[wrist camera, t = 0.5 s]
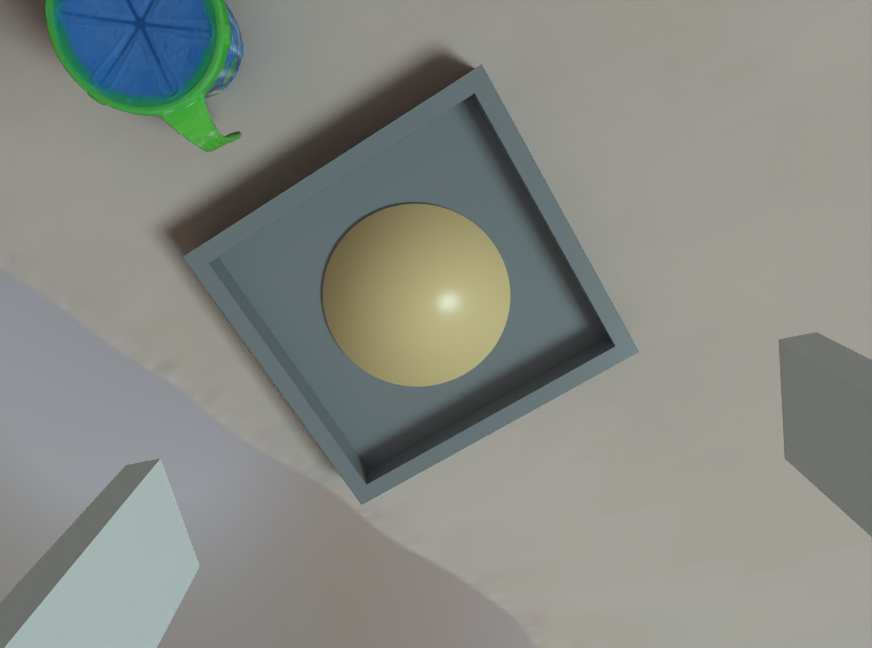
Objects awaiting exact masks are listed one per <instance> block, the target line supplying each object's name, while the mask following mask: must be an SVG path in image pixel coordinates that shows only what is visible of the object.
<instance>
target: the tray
mask: <svg viewBox="0 0 872 648" xmlns="http://www.w3.org/2000/svg"><path fill="white" fill-rule="evenodd" d="M183 258H184V260H185V261H186V263H187V264H188V265H189V267H190V268H191V270H192V271H193V272H194V274H195V275H196V276H197V278H198V279H199V281H200V282H201V283H202V285H203V286H204V288H205V289H206V290H207V292H208V293H209V294H210V296H211V297H212V299H213V300H214V301H215V303H216V304H217V305H218V307H219V308H220V310H221V311H222V312H223V314H224V315H225V317H226V318H227V319H228V321H229V322H230V323H231V325H232V326H233V328H234V329H235V330H236V332H237V333H238V335H239V336H240V337H241V339H242V340H243V341H244V343H245V344H246V346H247V347H248V348H249V350H250V351H251V352H252V354H253V355H254V357H255V358H256V359H257V361H258V362H259V364H260V365H261V366H262V368H263V369H264V370H265V372H266V373H267V375H268V376H269V377H270V379H271V380H272V382H273V383H274V384H275V386H276V387H277V388H278V390H279V391H280V393H281V394H282V395H283V397H284V398H285V400H286V401H287V402H288V404H289V405H290V406H291V408H292V409H293V411H294V412H295V413H296V415H297V416H298V417H299V419H300V420H301V422H302V423H303V424H304V426H305V427H306V429H307V430H308V431H309V433H310V434H311V435H312V437H313V438H314V440H315V441H316V442H317V444H318V445H319V447H320V448H321V449H322V451H323V452H324V453H325V455H326V456H327V458H328V459H329V460H330V462H331V463H332V464H333V466H334V467H335V469H336V470H337V471H338V473H339V474H340V476H341V477H342V478H343V480H344V481H345V482H346V484H347V485H348V487H349V488H350V489H351V491H352V492H353V494H354V495H355V496H356V498H357V499H358V500H359V502H360V503H361V505H362V504H364V503H366V502H368V501H369V500H371V499H373V498H375V497H377V496H378V495H380V494H382V493H384V492H386V491H388V490H389V489H391V488H393V487H395V486H397V485H398V484H400V483H402V482H404V481H406V480H407V479H409V478H411V477H413V476H415V475H417V474H418V473H420V472H422V471H424V470H426V469H427V468H429V467H431V466H433V465H435V464H436V463H438V462H440V461H442V460H444V459H446V458H447V457H449V456H451V455H453V454H455V453H456V452H458V451H460V450H462V449H464V448H465V447H467V446H469V445H471V444H473V443H475V442H476V441H478V440H480V439H482V438H484V437H485V436H487V435H489V434H491V433H493V432H494V431H496V430H498V429H500V428H502V427H504V426H505V425H507V424H509V423H511V422H513V421H514V420H516V419H518V418H520V417H522V416H523V415H525V414H527V413H529V412H531V411H533V410H534V409H536V408H538V407H540V406H542V405H543V404H545V403H547V402H549V401H551V400H552V399H554V398H556V397H558V396H560V395H562V394H563V393H565V392H567V391H569V390H571V389H572V388H574V387H576V386H578V385H580V384H581V383H583V382H585V381H587V380H589V379H591V378H592V377H594V376H596V375H598V374H600V373H601V372H603V371H605V370H607V369H609V368H610V367H612V366H614V365H616V364H618V363H620V362H621V361H623V360H625V359H627V358H629V357H630V356H632V355H634V354H636V353H638V352H639V351H638V349H637V347H636V345H635V344H634V342H633V340H632V338H631V336H630V334H629V333H628V331H627V329H626V327H625V325H624V323H623V322H622V320H621V318H620V316H619V314H618V313H617V311H616V309H615V307H614V305H613V303H612V302H611V300H610V298H609V296H608V294H607V292H606V291H605V289H604V287H603V285H602V283H601V281H600V280H599V278H598V276H597V274H596V272H595V271H594V269H593V267H592V265H591V263H590V261H589V260H588V258H587V256H586V254H585V252H584V250H583V249H582V247H581V245H580V243H579V241H578V239H577V238H576V236H575V234H574V232H573V230H572V229H571V227H570V225H569V223H568V221H567V219H566V218H565V216H564V214H563V212H562V210H561V208H560V207H559V205H558V203H557V201H556V199H555V197H554V196H553V194H552V192H551V190H550V188H549V186H548V185H547V183H546V181H545V179H544V177H543V176H542V174H541V172H540V170H539V168H538V166H537V165H536V163H535V161H534V159H533V157H532V155H531V154H530V152H529V150H528V148H527V146H526V144H525V143H524V141H523V139H522V137H521V135H520V134H519V132H518V130H517V128H516V126H515V124H514V123H513V121H512V119H511V117H510V115H509V113H508V112H507V110H506V108H505V106H504V104H503V102H502V101H501V99H500V97H499V95H498V93H497V92H496V90H495V88H494V86H493V84H492V82H491V81H490V79H489V77H488V75H487V73H486V71H485V70H484V68H483V66H482V65H480V66H478V67H477V68H475V69H474V70H472V71H471V72H469V73H468V74H466V75H464V76H463V77H461V78H460V79H458V80H457V81H455V82H454V83H452V84H450V85H449V86H447V87H446V88H444V89H443V90H441V91H440V92H438V93H436V94H435V95H433V96H432V97H430V98H429V99H427V100H426V101H424V102H422V103H421V104H419V105H418V106H416V107H415V108H413V109H412V110H410V111H408V112H407V113H405V114H404V115H402V116H401V117H399V118H398V119H396V120H395V121H393V122H391V123H390V124H388V125H387V126H385V127H384V128H382V129H381V130H379V131H377V132H376V133H374V134H373V135H371V136H370V137H368V138H367V139H365V140H363V141H362V142H360V143H359V144H357V145H356V146H354V147H353V148H351V149H349V150H348V151H346V152H345V153H343V154H342V155H340V156H339V157H337V158H335V159H334V160H332V161H331V162H329V163H328V164H326V165H325V166H323V167H321V168H320V169H318V170H317V171H315V172H314V173H312V174H311V175H309V176H307V177H306V178H304V179H303V180H301V181H300V182H298V183H297V184H295V185H294V186H292V187H290V188H289V189H287V190H286V191H284V192H283V193H281V194H280V195H278V196H276V197H275V198H273V199H272V200H270V201H269V202H267V203H266V204H264V205H262V206H261V207H259V208H258V209H256V210H255V211H253V212H252V213H250V214H248V215H247V216H245V217H244V218H242V219H241V220H239V221H238V222H236V223H234V224H233V225H231V226H230V227H228V228H227V229H225V230H224V231H222V232H220V233H219V234H217V235H216V236H214V237H213V238H211V239H210V240H208V241H206V242H205V243H203V244H202V245H200V246H199V247H197V248H196V249H194V250H193V251H191V252H189V253H188V254H186V255H185V256H183Z"/></svg>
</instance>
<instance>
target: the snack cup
mask: <svg viewBox="0 0 872 648" xmlns="http://www.w3.org/2000/svg"><path fill="white" fill-rule="evenodd" d="M44 10H45V16H46V22H47V28H48V32H49V36H50V39H51V42H52V45H53V47H54V50H55V52H56V54H57V56H58V58H59V60H60V61H61V63H62V64H63V66H64V68H65V69H66V70H67V72H68V73H69V74H70V76H71V77H72V78H73V79H74V80H75V81H76V82H77V83H78V84H79V85H80V86H81V87H82V88H83V89H84V90H85V91H86V92H87V93H88V95H89V96H90V97H91V98H93V99H94V100H96V101H97V102H98V103H100V104H102V105H108V106H110V107H112V108H115V109H118V110H121V111H124V112H128V113H133V114H138V115H154V116H158V117H160V118H162V119H163V120H164V121H166V122H167V123H168V124H169V125H170V126H171V127H172V128H174V129H175V130H176V131H177V132H178V134H181V135H182V136H184V137H185V138H186V139H187V140H188V141H190V142H191V143H193V144H194V145H196V146H198V147H199V148H201V149H203V150H204V151H206V152H211V151H213V150H216V149H217V148H219V147H221V146H224V145H225V144H227V143H230V142H233V141H234V140H236V139H238V138H240V137H241V132H239V131H238V132H234V133H231V134H229V135H227V136H222V135H221V134H220V133H219V131H218V129H217V128H216V126H215V124H214V123H213V121H212V120H211V118H210V116H209V112H208V110H207V106H206V102H205V98H209V97H211V96H213V95H216V94H218V93H220V92H221V91H223V90H224V89H225V88H226V87H227V86H228V85H229V84H230V83H231V81H232V80H233V78H234V77H235V75H236V73H237V71H238V69H239V66H240V62H241V58H242V56H243V43H242V39H241V34H240V31H239V28H238V25H237V22H236V20H235V19H234V16H233V14H232V12H231V10H230V9H229V8H228V6H227V4H226V3H225V1H224V0H45V7H44Z"/></svg>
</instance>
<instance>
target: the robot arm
mask: <svg viewBox="0 0 872 648" xmlns="http://www.w3.org/2000/svg"><path fill="white" fill-rule="evenodd" d="M779 356H780V375H781V395H782V414H783V434H784V453H785V459H786V460H787V461H788V462H789V463H790V464H791V465H793V466H794V467H795V468H796V469H797V470H798V471H799V472H800V473H801V474H803V475H804V476H805V477H806V478H807V479H808V480H809V481H810V482H811V483H813V484H814V485H815V486H816V487H817V488H818V489H819V490H820V491H821V492H823V493H824V494H825V495H826V496H827V497H828V498H829V499H830V500H831V501H832V502H834V503H835V504H836V505H837V506H838V507H839V508H840V509H841V510H842V511H844V512H845V513H846V514H847V515H848V516H849V517H850V518H851V519H852V520H854V521H855V522H856V523H857V524H858V525H859V526H860V527H861V528H862V529H864V530H865V531H866V532H867V533H868V534H869V535H870V536H871V537H872V360H870V359H868V358H866V357H864V356H862V355H860V354H858V353H856V352H854V351H852V350H851V349H849V348H847V347H845V346H843V345H841V344H839V343H837V342H835V341H833V340H831V339H829V338H827V337H825V336H823V335H821V334H819V333H817V332H815V333H810V334H805V335H800V336H795V337H789V338H784V339H779ZM198 568H199V563H198V560H197V558H196V555H195V552H194V549H193V547H192V544H191V541H190V539H189V536H188V533H187V530H186V527H185V525H184V522H183V519H182V516H181V514H180V511H179V508H178V505H177V503H176V500H175V497H174V494H173V492H172V489H171V486H170V483H169V481H168V478H167V475H166V473H165V470H164V467H163V464H162V461H161V459H156V460H151V461H145V462H140V463H135V464H130V465H126V466H125V467H124V468H123V469H122V470H121V471H120V472H119V473H118V475H117V476H116V477H115V478H114V479H113V480H112V481H111V482H110V483H109V484H108V485H107V487H106V488H105V489H104V490H103V491H102V492H101V493H100V494H99V495H98V497H97V498H96V499H95V500H94V501H93V502H92V503H91V504H90V505H89V506H88V507H87V508H86V510H85V511H84V512H83V513H82V514H81V515H80V516H79V517H78V518H77V519H76V521H75V522H74V523H73V524H72V525H71V526H70V527H69V528H68V529H67V530H66V532H65V533H64V534H63V535H62V536H61V537H60V538H59V539H58V540H57V541H56V542H55V543H54V545H53V546H52V547H51V548H50V549H49V550H48V551H47V552H46V553H45V555H44V556H43V557H42V558H41V559H40V560H39V561H38V562H37V563H36V564H35V566H34V567H33V568H32V569H31V570H30V571H29V572H28V573H27V574H26V575H25V577H23V579H22V580H21V581H20V582H19V583H18V584H17V585H16V586H15V587H14V588H13V589H12V591H11V592H10V593H9V594H8V595H7V596H6V597H5V598H4V599H3V600H2V601H1V603H0V648H157V646H158V644H159V642H160V640H161V639H162V637H163V635H164V633H165V631H166V629H167V627H168V625H169V623H170V622H171V620H172V618H173V616H174V614H175V612H176V610H177V608H178V606H179V604H180V602H181V600H182V599H183V597H184V595H185V593H186V591H187V589H188V587H189V586H190V583H191V582H192V580H193V578H194V576H195V574H196V572H197V570H198Z"/></svg>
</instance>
